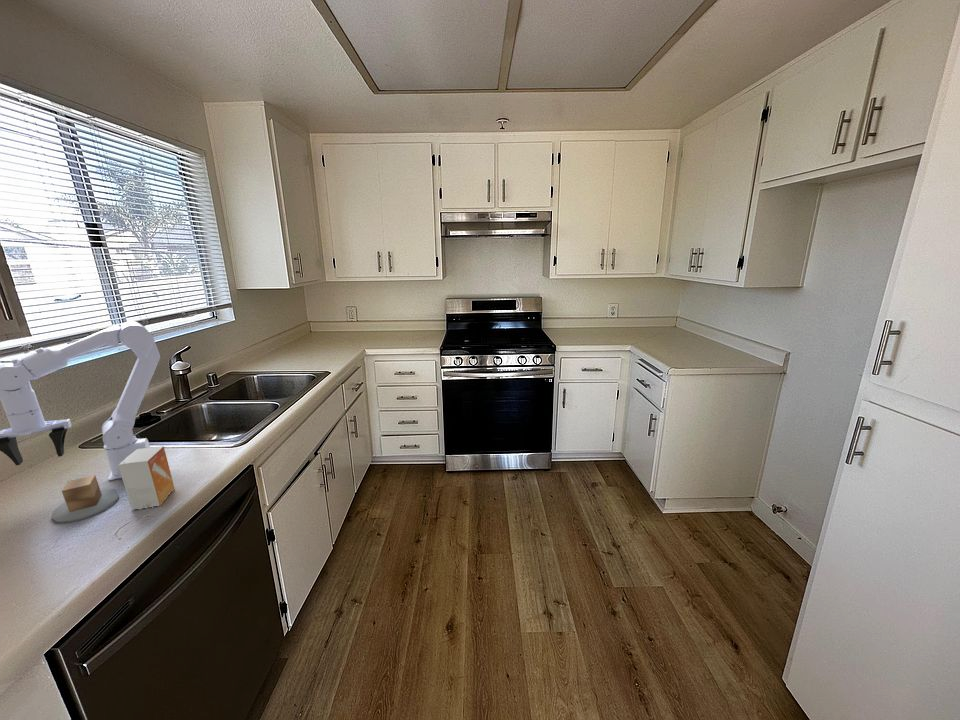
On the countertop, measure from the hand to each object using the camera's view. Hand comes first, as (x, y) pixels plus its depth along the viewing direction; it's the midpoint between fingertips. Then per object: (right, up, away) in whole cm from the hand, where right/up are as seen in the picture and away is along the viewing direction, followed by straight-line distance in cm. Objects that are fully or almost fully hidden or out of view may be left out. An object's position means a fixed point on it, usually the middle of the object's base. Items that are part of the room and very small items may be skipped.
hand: (40, 459), depth 102 cm
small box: (+30, -11, 0) cm, 32 cm away
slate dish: (+15, -11, -3) cm, 19 cm away
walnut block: (+15, -10, -3) cm, 18 cm away
